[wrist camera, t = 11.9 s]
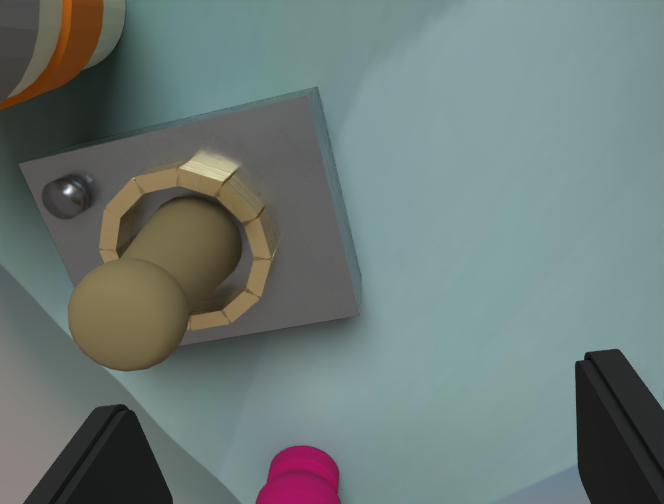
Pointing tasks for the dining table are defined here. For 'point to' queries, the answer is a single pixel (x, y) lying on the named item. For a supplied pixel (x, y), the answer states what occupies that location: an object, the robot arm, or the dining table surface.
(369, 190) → the dining table surface
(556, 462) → the dining table surface
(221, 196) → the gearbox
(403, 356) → the dining table surface
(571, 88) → the dining table surface
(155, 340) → the cork
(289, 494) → the pepper mill
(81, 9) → the reusable coffee cup
